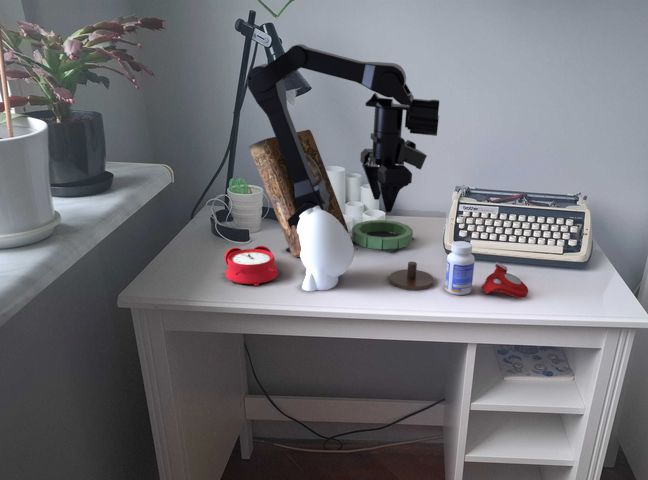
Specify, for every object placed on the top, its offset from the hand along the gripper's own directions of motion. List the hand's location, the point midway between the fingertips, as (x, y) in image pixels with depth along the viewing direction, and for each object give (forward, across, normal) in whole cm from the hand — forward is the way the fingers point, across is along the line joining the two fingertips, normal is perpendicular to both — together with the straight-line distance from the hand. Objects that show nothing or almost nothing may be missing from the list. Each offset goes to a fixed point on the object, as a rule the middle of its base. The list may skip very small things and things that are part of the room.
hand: (382, 205), depth 137 cm
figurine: (+12, -12, +14) cm, 22 cm away
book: (+12, +7, +12) cm, 18 cm away
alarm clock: (+12, -5, +29) cm, 32 cm away
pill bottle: (+11, -22, -11) cm, 26 cm away
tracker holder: (+11, -23, -20) cm, 32 cm away
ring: (+11, +9, -3) cm, 15 cm away
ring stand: (+11, -15, -3) cm, 19 cm away
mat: (+12, +9, -4) cm, 15 cm away
